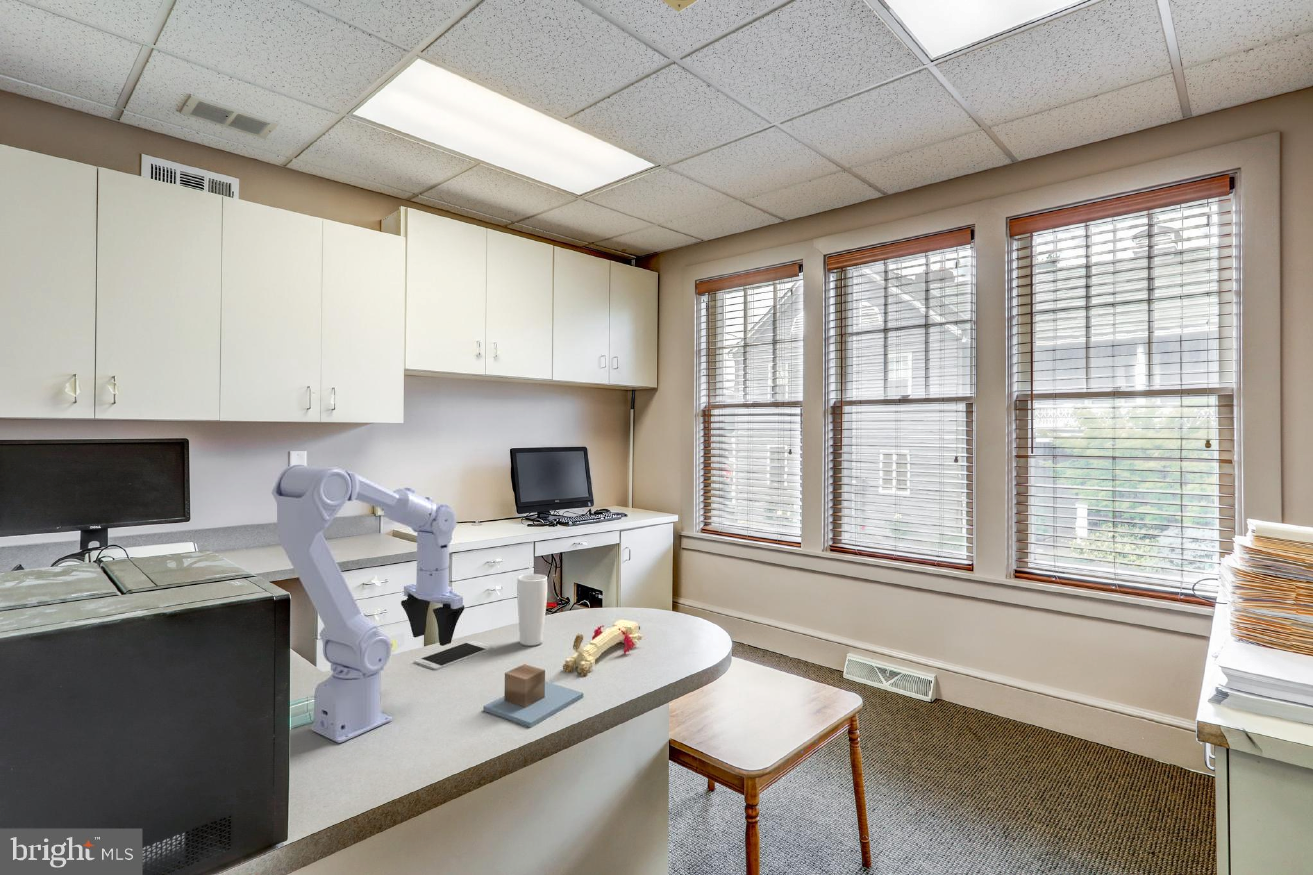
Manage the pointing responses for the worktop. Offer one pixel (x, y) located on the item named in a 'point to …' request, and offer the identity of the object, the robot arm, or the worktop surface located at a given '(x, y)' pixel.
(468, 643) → the smartphone
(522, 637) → the drinking glass
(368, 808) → the worktop surface
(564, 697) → the slate board
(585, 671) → the cream long lumpy piece
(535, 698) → the walnut cube
